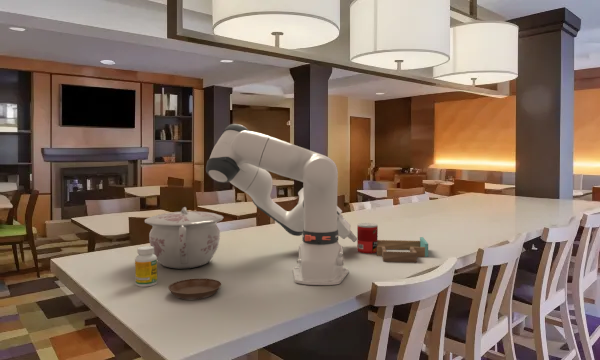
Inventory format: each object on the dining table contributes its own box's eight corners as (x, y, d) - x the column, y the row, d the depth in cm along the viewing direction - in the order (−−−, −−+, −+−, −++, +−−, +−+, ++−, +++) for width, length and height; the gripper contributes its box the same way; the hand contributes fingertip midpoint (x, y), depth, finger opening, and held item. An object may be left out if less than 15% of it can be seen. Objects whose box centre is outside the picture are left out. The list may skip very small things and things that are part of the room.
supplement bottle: (139, 281, 139) (138, 245, 138) (159, 280, 139) (158, 245, 139) (132, 287, 133) (131, 250, 132) (154, 287, 133) (153, 249, 132)
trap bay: (416, 262, 160) (416, 252, 160) (383, 261, 162) (383, 252, 162) (413, 256, 169) (413, 247, 169) (381, 255, 171) (381, 246, 170)
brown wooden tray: (424, 256, 169) (425, 247, 168) (376, 255, 171) (376, 246, 171) (419, 249, 181) (419, 240, 181) (375, 248, 184) (375, 239, 183)
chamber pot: (183, 252, 178) (181, 201, 177) (239, 259, 166) (238, 204, 164) (126, 269, 153) (124, 209, 152) (187, 279, 141) (186, 214, 139)
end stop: (428, 256, 169) (428, 243, 168) (424, 256, 169) (425, 243, 168) (422, 249, 181) (422, 237, 181) (419, 249, 181) (419, 237, 181)
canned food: (376, 254, 173) (377, 226, 172) (356, 253, 175) (356, 225, 174) (377, 249, 181) (378, 223, 180) (358, 249, 182) (358, 222, 182)
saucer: (201, 283, 137) (200, 274, 137) (232, 293, 128) (232, 283, 128) (158, 295, 126) (157, 285, 126) (188, 307, 117) (188, 297, 116)
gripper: (327, 217, 190) (350, 240, 189) (324, 225, 169) (349, 251, 169) (338, 207, 189) (360, 230, 188) (336, 213, 168) (361, 240, 168)
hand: (355, 240), depth 178 cm, fingers closed, pressing on canned food
